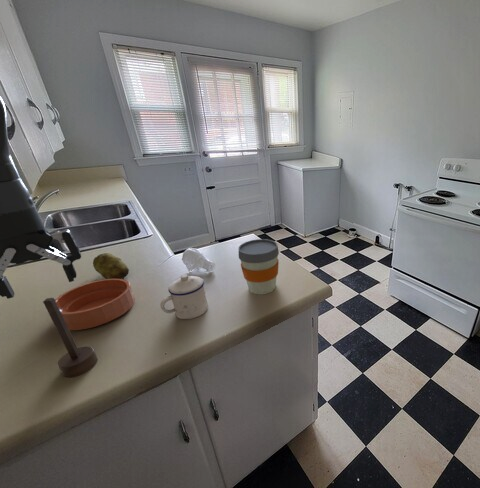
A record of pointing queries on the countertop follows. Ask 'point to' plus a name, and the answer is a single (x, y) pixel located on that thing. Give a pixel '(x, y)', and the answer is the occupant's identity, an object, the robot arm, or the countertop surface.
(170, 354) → the countertop surface
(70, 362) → the wooden tamper
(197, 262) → the crumpled white tissue
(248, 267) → the reusable coffee cup
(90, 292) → the bowl
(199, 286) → the teacup with lid
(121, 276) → the potato
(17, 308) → the countertop surface
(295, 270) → the countertop surface
